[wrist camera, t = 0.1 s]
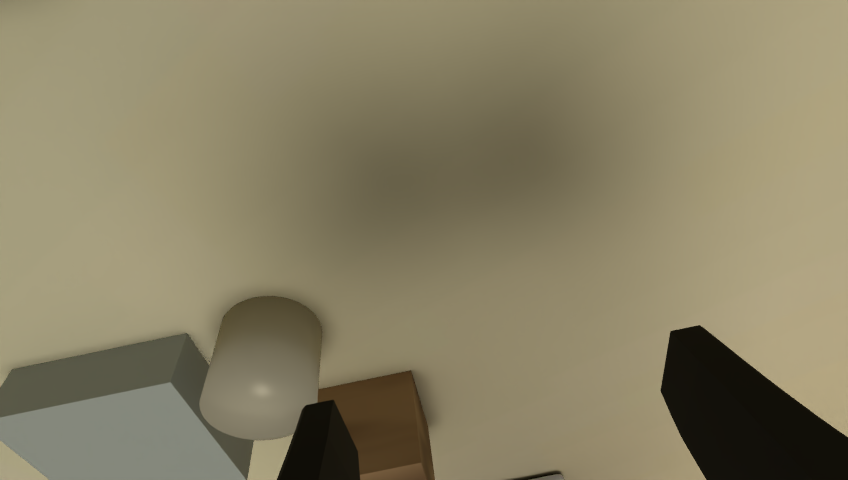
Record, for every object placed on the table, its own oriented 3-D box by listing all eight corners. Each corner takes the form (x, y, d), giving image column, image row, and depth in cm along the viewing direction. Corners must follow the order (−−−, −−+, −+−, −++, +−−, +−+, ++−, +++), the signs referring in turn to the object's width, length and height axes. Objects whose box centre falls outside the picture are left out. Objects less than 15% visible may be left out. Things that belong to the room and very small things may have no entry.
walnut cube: (427, 425, 29) (439, 516, 25) (340, 442, 29) (338, 536, 25) (410, 369, 26) (421, 462, 22) (313, 389, 26) (306, 485, 22)
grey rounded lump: (333, 353, 25) (330, 427, 21) (244, 371, 25) (227, 448, 21) (304, 286, 22) (296, 360, 19) (204, 307, 22) (178, 384, 19)
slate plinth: (255, 426, 28) (246, 480, 25) (112, 456, 28) (90, 512, 26) (188, 327, 23) (170, 382, 21) (16, 363, 23) (-23, 422, 21)
